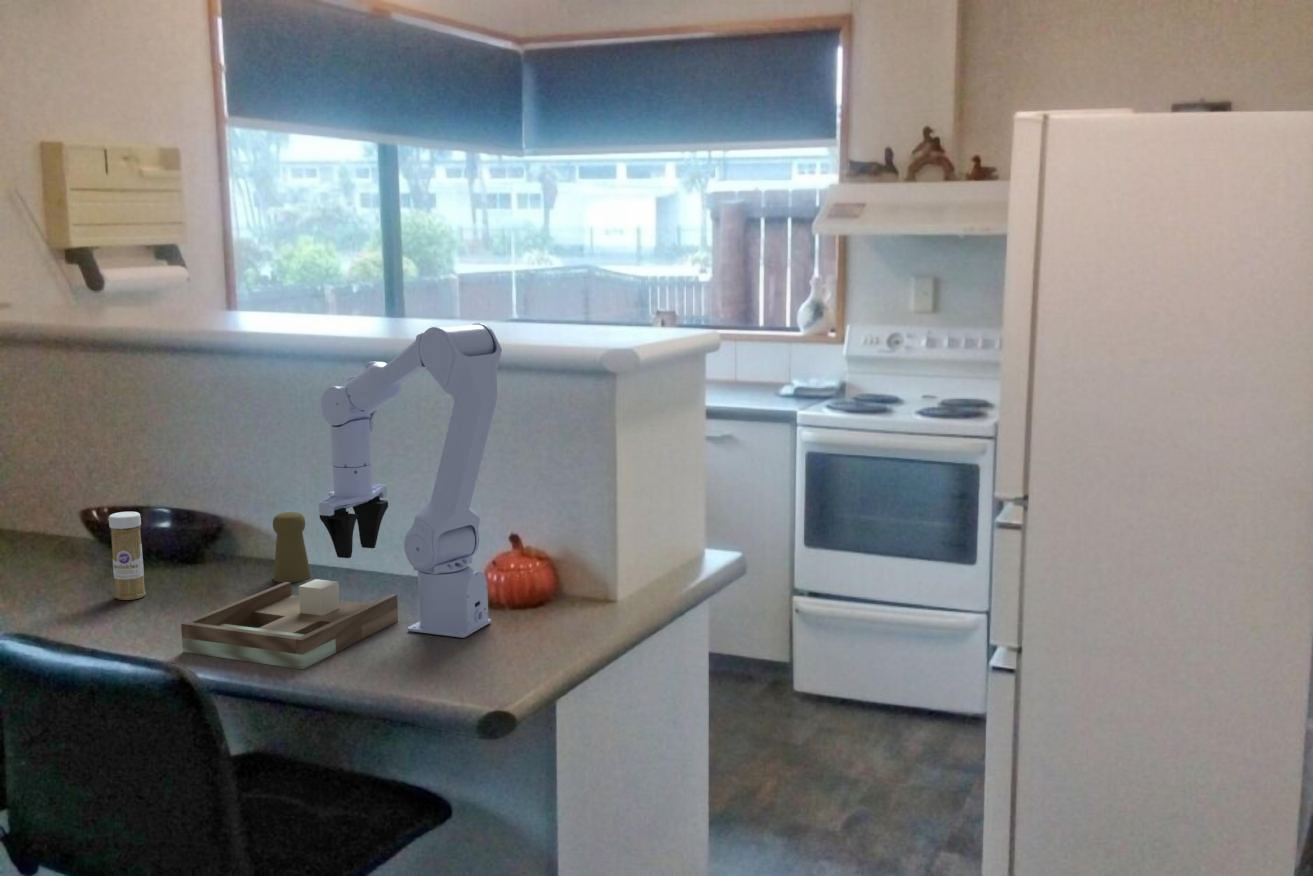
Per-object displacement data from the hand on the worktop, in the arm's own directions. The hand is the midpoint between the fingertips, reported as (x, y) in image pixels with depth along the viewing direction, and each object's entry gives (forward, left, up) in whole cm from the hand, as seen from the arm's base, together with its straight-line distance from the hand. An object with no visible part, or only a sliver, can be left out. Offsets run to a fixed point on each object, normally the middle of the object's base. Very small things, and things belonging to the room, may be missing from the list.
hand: (356, 552), depth 188 cm
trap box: (0, +16, -8) cm, 18 cm away
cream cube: (0, +10, -6) cm, 11 cm away
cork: (+20, -9, -9) cm, 24 cm away
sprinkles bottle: (+37, +9, -9) cm, 39 cm away
